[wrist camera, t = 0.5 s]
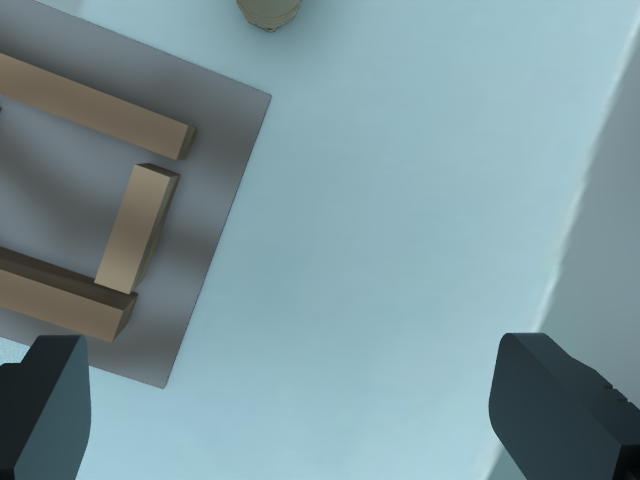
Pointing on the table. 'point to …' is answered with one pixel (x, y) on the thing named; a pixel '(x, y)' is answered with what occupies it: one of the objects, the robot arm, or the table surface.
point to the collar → (111, 186)
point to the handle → (269, 12)
